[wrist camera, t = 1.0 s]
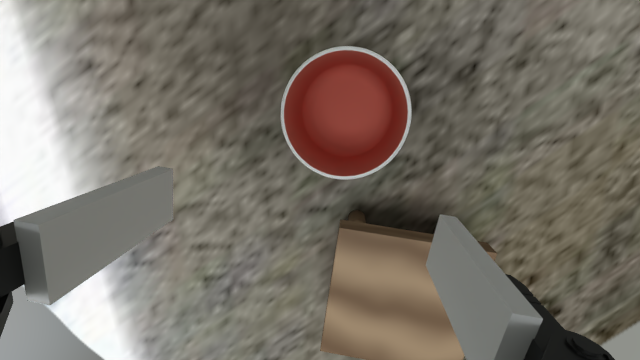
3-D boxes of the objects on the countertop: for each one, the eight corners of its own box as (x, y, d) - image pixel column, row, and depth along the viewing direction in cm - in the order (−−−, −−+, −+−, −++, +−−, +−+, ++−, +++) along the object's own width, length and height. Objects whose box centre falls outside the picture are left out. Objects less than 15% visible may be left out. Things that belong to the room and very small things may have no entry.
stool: (342, 199, 35) (339, 227, 27) (464, 218, 34) (497, 253, 26) (326, 300, 39) (320, 350, 31) (435, 320, 38) (457, 376, 30)
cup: (400, 66, 31) (423, 51, 21) (386, 161, 33) (400, 186, 24) (304, 58, 31) (283, 40, 22) (298, 152, 34) (276, 172, 24)
